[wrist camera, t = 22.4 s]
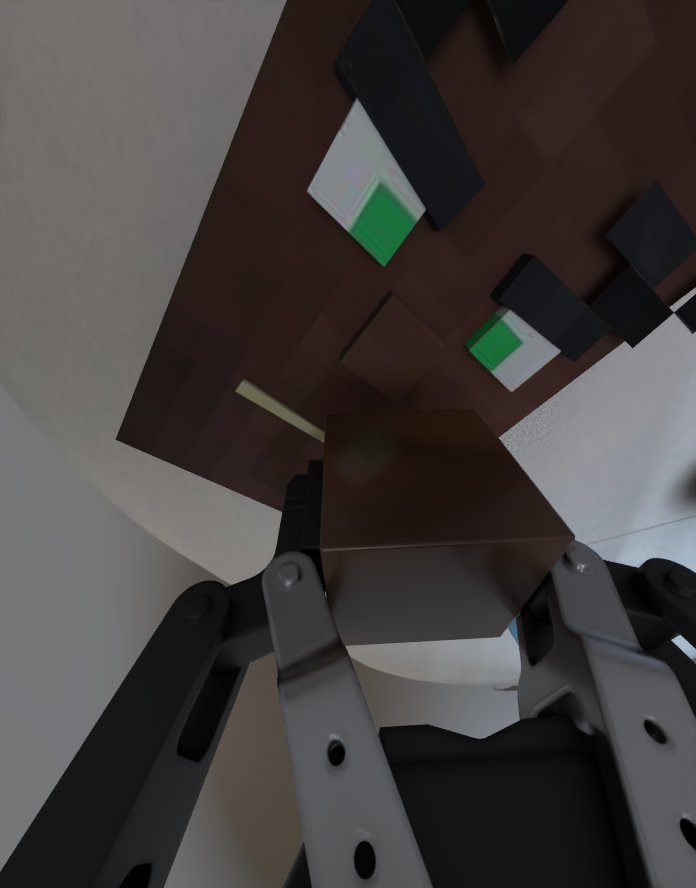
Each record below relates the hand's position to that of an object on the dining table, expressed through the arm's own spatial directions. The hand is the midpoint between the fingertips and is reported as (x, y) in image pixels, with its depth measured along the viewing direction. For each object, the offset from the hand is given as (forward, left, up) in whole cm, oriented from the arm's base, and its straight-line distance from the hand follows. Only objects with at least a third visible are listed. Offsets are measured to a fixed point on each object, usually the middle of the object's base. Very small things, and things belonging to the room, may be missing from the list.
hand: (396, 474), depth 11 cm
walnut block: (0, 0, 0) cm, 0 cm away
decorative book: (0, +3, -12) cm, 12 cm away
